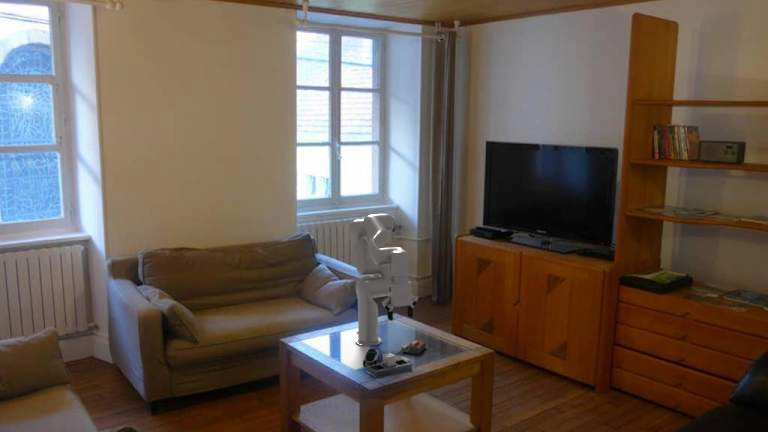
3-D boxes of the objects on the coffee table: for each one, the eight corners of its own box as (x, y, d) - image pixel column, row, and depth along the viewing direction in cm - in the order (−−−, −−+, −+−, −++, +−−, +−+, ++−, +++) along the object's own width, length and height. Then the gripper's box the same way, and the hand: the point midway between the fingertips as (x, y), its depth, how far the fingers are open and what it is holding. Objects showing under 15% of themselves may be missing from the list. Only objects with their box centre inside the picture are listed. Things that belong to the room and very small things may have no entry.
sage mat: (388, 359, 304) (388, 358, 304) (401, 356, 308) (401, 355, 308) (396, 364, 298) (396, 362, 298) (409, 361, 302) (409, 359, 302)
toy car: (379, 358, 306) (379, 347, 306) (376, 367, 295) (376, 356, 294) (366, 358, 307) (366, 346, 306) (362, 367, 295) (362, 355, 295)
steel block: (382, 370, 291) (382, 354, 290) (390, 368, 293) (390, 352, 292) (387, 373, 288) (387, 357, 287) (395, 371, 290) (395, 355, 289)
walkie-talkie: (409, 345, 324) (395, 356, 305) (409, 336, 323) (395, 347, 305) (426, 347, 321) (413, 359, 302) (427, 337, 320) (414, 349, 302)
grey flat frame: (376, 377, 282) (376, 372, 282) (366, 371, 289) (366, 366, 289) (411, 369, 292) (411, 363, 291) (401, 363, 298) (401, 358, 298)
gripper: (386, 283, 281) (386, 323, 283) (421, 278, 289) (422, 317, 291) (377, 279, 288) (378, 319, 290) (412, 275, 296) (413, 313, 298)
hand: (400, 318), depth 291 cm, fingers open, 9 cm apart
